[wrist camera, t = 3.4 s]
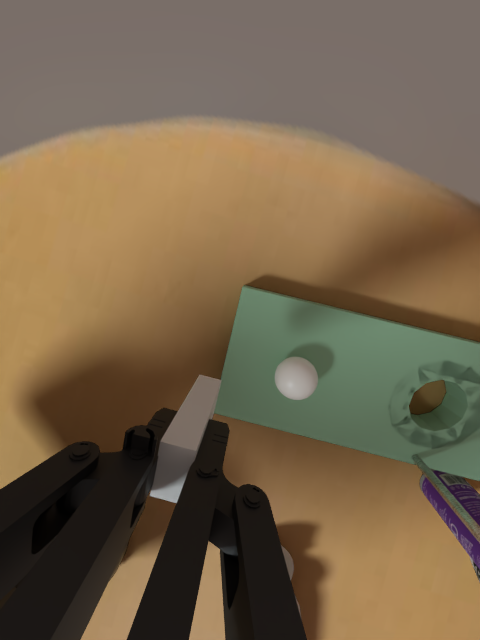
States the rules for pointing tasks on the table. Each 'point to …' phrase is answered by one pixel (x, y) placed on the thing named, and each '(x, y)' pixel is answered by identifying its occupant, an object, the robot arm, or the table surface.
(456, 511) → the flag pin
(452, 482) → the container
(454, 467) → the green
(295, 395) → the ball
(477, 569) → the cup
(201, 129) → the table surface
